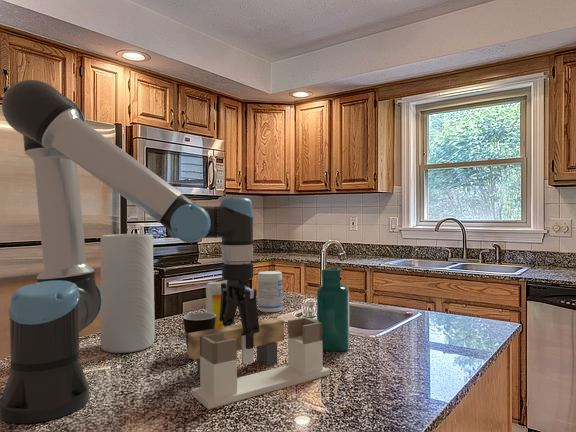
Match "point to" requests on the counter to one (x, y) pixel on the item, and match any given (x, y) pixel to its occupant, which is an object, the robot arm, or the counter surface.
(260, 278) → the supplement tub
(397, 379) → the counter surface
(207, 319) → the coffee mug
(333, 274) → the green square bottle
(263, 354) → the blocks
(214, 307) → the white yellow bottle
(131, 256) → the paper towel roll
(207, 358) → the bracket stand
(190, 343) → the oak rail
